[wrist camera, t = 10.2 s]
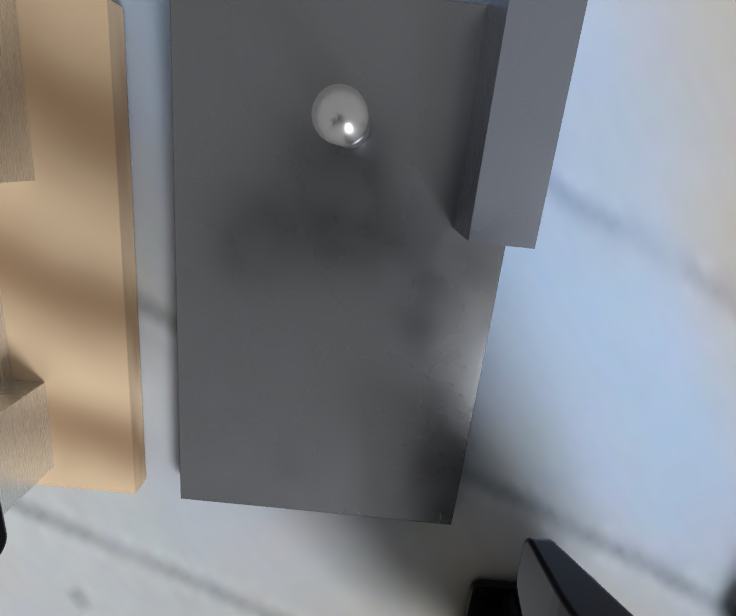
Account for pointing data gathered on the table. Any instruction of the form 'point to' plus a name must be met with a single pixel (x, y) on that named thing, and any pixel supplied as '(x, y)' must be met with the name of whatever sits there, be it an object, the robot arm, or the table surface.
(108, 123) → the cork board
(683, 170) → the table surface
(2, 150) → the white open-top bracket
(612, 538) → the table surface
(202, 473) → the plate
